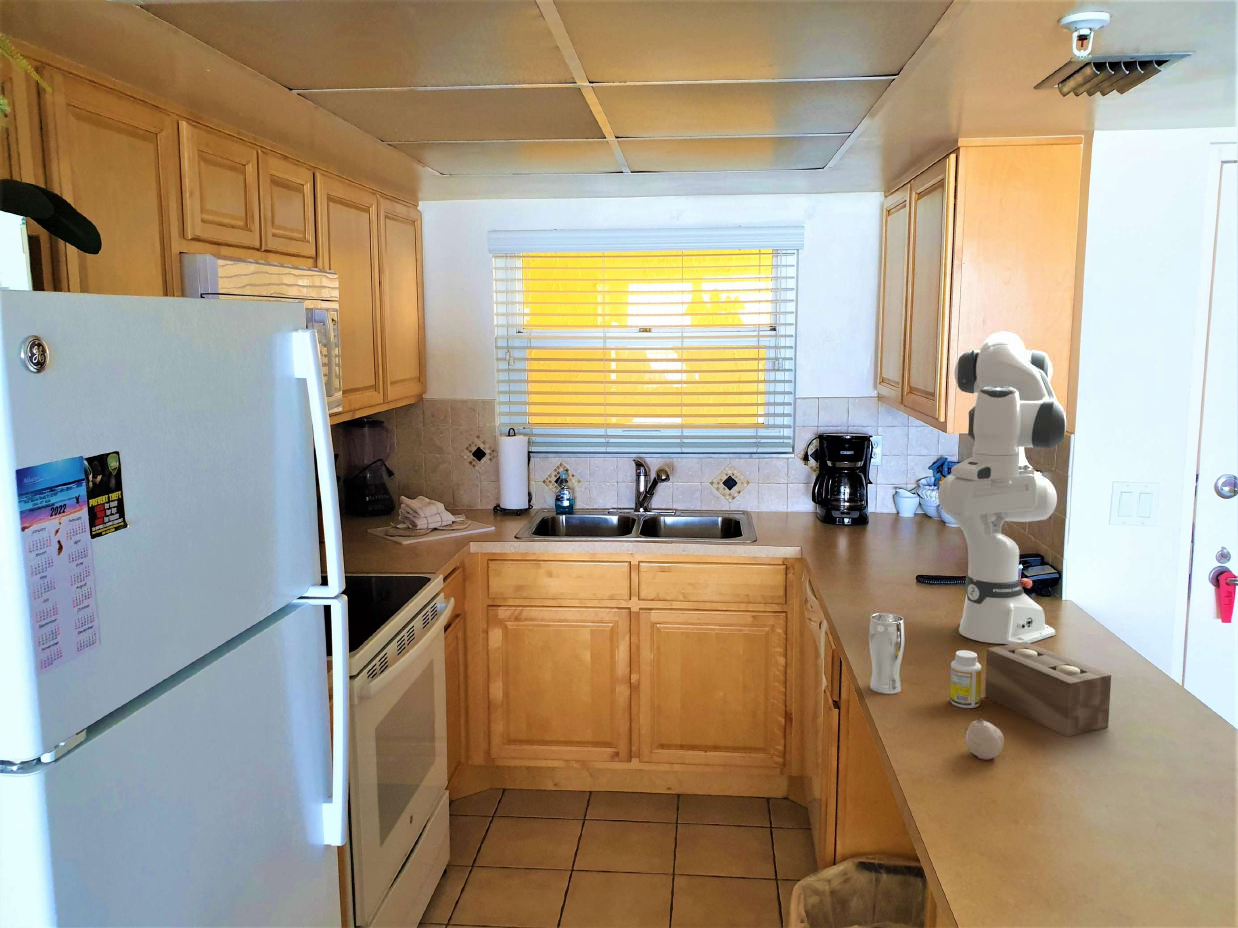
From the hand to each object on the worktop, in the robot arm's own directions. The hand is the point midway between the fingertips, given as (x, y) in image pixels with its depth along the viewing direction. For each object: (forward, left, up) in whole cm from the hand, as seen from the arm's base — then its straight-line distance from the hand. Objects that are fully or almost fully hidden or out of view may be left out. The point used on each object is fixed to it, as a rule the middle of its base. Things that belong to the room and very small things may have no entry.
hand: (992, 534), depth 188 cm
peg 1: (+2, +12, -30) cm, 32 cm away
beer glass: (+22, -5, -31) cm, 39 cm away
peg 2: (+2, +22, -30) cm, 37 cm away
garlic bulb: (+26, +27, -31) cm, 49 cm away
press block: (+2, +17, -31) cm, 35 cm away
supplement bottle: (+13, +8, -31) cm, 35 cm away
